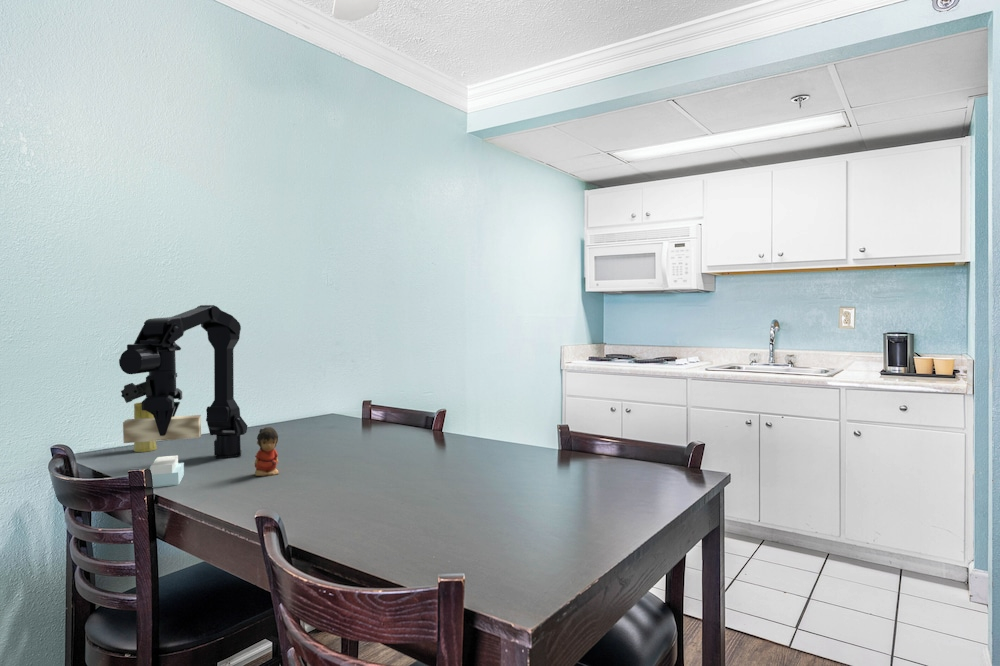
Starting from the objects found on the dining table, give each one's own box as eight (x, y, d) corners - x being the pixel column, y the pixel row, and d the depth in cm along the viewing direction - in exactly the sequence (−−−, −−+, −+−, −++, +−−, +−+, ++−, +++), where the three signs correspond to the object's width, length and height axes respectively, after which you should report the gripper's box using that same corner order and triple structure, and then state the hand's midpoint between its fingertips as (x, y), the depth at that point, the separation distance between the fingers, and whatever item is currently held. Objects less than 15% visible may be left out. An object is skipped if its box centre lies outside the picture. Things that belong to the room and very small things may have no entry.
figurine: (248, 475, 149) (247, 428, 148) (266, 470, 154) (265, 424, 153) (265, 478, 146) (265, 430, 145) (283, 472, 151) (282, 426, 150)
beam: (201, 434, 148) (200, 414, 148) (199, 437, 145) (198, 417, 145) (127, 439, 143) (127, 419, 143) (123, 443, 139) (122, 422, 139)
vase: (161, 447, 181) (160, 401, 180) (147, 452, 175) (146, 404, 174) (143, 447, 181) (141, 401, 181) (128, 452, 175) (127, 404, 175)
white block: (184, 474, 150) (183, 454, 150) (178, 484, 141) (178, 464, 141) (152, 477, 147) (152, 457, 147) (144, 488, 138) (144, 466, 138)
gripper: (132, 368, 149) (133, 429, 150) (114, 375, 132) (116, 444, 132) (181, 366, 153) (183, 426, 154) (171, 373, 136) (172, 440, 136)
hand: (164, 433), depth 144 cm, fingers closed on beam, 4 cm apart
